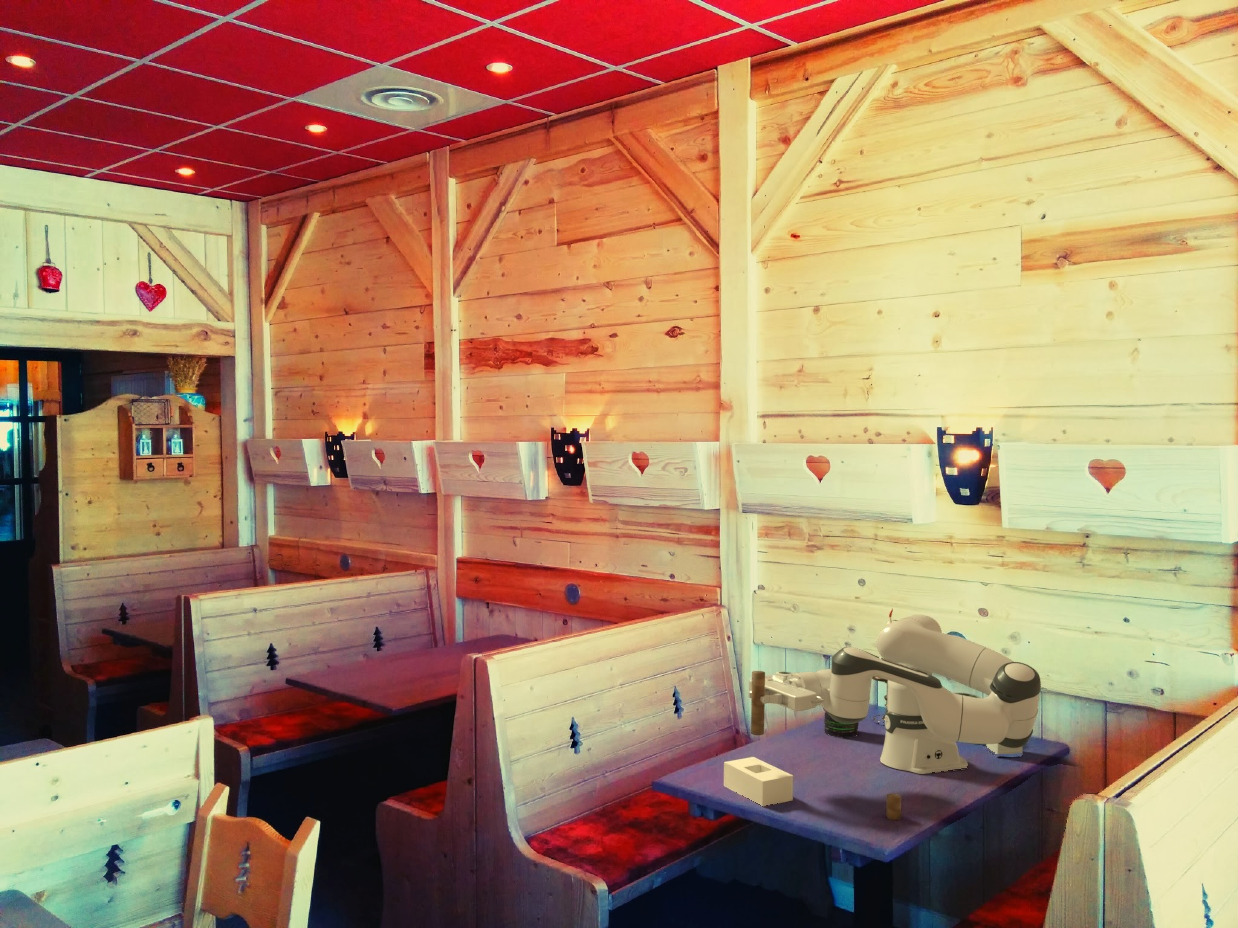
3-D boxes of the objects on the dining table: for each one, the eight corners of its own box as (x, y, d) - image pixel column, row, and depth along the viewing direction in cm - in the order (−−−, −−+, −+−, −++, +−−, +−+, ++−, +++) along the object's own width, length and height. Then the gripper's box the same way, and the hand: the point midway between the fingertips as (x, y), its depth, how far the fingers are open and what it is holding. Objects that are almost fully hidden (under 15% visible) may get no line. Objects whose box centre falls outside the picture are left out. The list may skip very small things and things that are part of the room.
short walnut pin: (897, 814, 240) (897, 793, 240) (903, 819, 237) (903, 798, 237) (884, 815, 240) (884, 793, 239) (889, 820, 236) (890, 798, 236)
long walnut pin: (764, 732, 254) (765, 671, 253) (763, 735, 251) (764, 674, 250) (751, 730, 255) (752, 670, 254) (749, 734, 252) (750, 673, 251)
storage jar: (821, 727, 309) (821, 678, 309) (854, 728, 309) (854, 678, 309) (827, 737, 299) (828, 686, 299) (861, 738, 299) (862, 686, 299)
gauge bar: (753, 780, 263) (753, 756, 263) (792, 800, 249) (793, 775, 249) (723, 785, 258) (723, 761, 258) (762, 806, 244) (762, 781, 244)
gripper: (828, 713, 250) (781, 720, 243) (776, 693, 268) (731, 700, 261) (828, 687, 250) (782, 694, 243) (776, 669, 268) (732, 675, 261)
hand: (755, 697), depth 252 cm, fingers closed on long walnut pin, 3 cm apart
